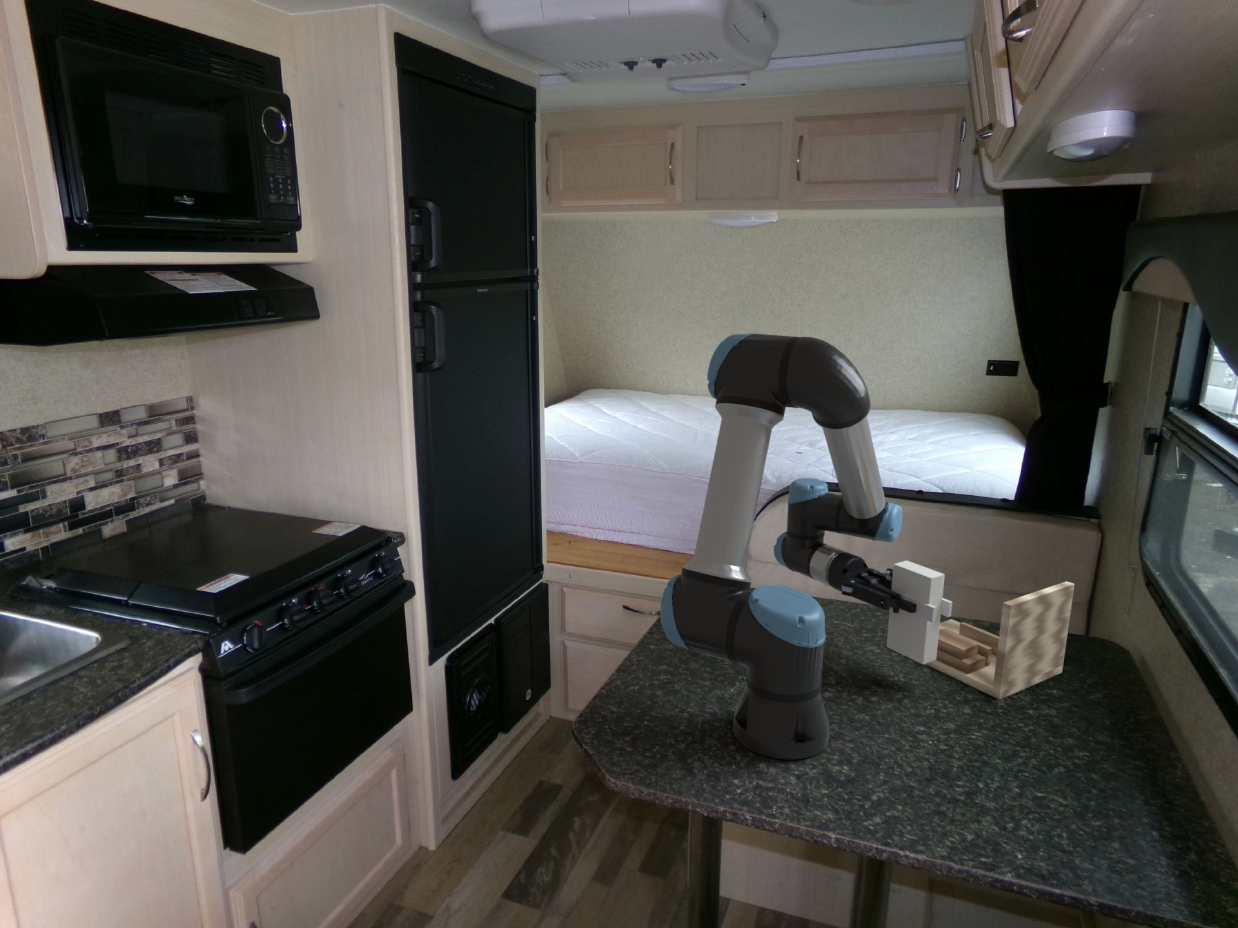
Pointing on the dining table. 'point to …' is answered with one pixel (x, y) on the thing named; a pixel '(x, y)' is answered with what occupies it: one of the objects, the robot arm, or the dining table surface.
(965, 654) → the walnut offcuts
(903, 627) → the white block
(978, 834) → the dining table surface
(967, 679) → the maple rack
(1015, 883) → the dining table surface
